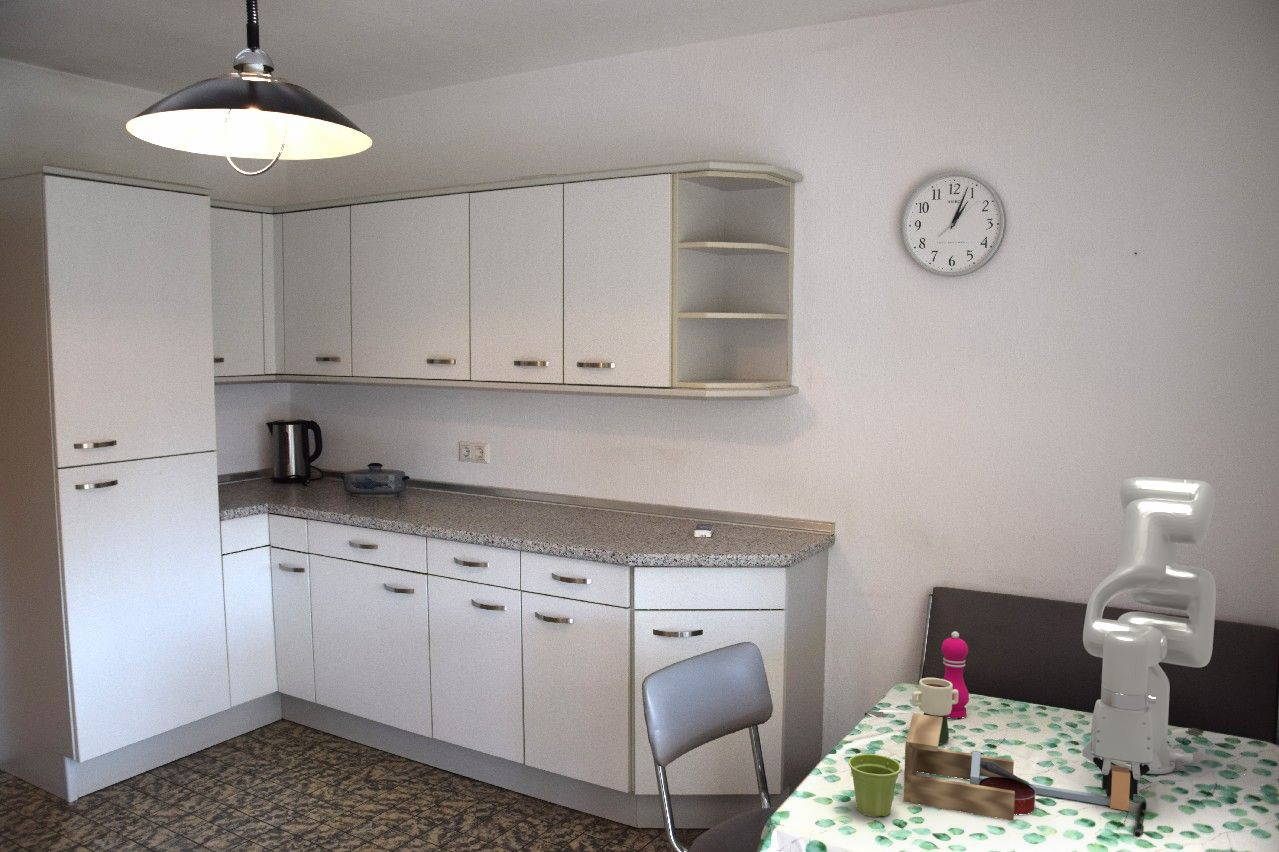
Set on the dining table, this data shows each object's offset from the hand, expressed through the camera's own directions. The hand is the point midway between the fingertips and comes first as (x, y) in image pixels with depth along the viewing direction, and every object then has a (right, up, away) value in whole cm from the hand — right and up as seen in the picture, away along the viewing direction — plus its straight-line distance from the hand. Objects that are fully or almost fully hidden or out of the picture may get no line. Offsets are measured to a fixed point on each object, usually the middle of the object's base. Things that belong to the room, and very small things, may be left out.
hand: (1119, 794), depth 176 cm
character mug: (-25, -1, +31) cm, 40 cm away
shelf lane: (-28, -2, +5) cm, 28 cm away
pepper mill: (-15, 0, +48) cm, 50 cm away
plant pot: (-47, -2, -3) cm, 47 cm away
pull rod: (-13, -2, -1) cm, 14 cm away
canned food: (-21, -2, +1) cm, 21 cm away
